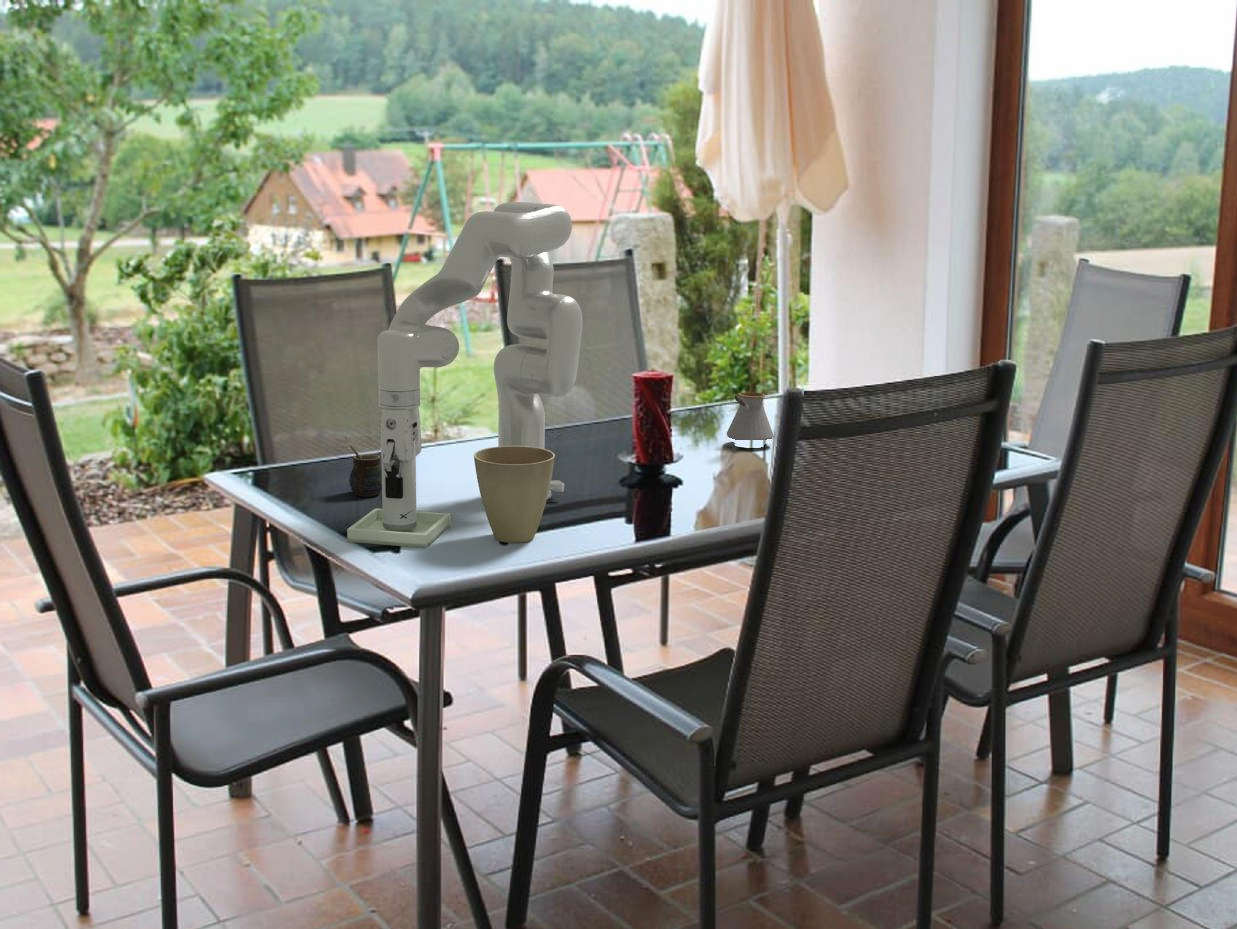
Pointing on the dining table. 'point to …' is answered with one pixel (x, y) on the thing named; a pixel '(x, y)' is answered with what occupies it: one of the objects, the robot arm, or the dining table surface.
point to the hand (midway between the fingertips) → (400, 492)
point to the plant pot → (514, 489)
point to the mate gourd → (366, 475)
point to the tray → (419, 536)
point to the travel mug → (401, 510)
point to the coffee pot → (750, 418)
